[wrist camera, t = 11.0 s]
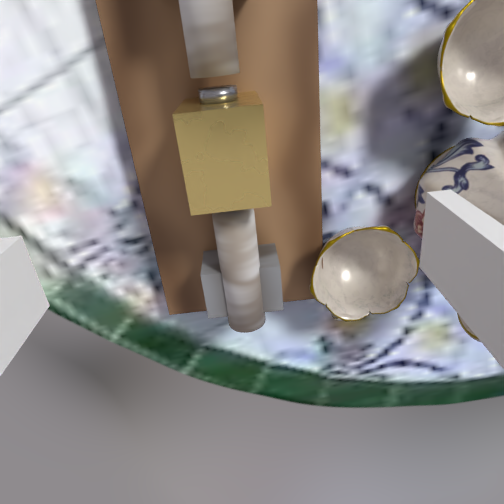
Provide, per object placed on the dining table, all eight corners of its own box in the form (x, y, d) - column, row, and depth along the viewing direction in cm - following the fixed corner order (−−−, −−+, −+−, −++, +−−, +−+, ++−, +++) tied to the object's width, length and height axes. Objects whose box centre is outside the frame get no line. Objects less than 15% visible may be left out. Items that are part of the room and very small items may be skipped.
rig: (307, -131, 25) (334, -189, 19) (319, 285, 39) (336, 332, 32) (79, -106, 25) (29, -155, 19) (172, 302, 39) (161, 352, 32)
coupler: (254, 78, 28) (261, 88, 22) (263, 183, 32) (272, 218, 25) (182, 86, 28) (169, 98, 22) (200, 191, 32) (193, 227, 25)
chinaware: (429, -49, 28) (605, -173, 13) (634, 36, 30) (996, 11, 15) (287, 280, 40) (295, 411, 25) (440, 329, 42) (534, 480, 27)
